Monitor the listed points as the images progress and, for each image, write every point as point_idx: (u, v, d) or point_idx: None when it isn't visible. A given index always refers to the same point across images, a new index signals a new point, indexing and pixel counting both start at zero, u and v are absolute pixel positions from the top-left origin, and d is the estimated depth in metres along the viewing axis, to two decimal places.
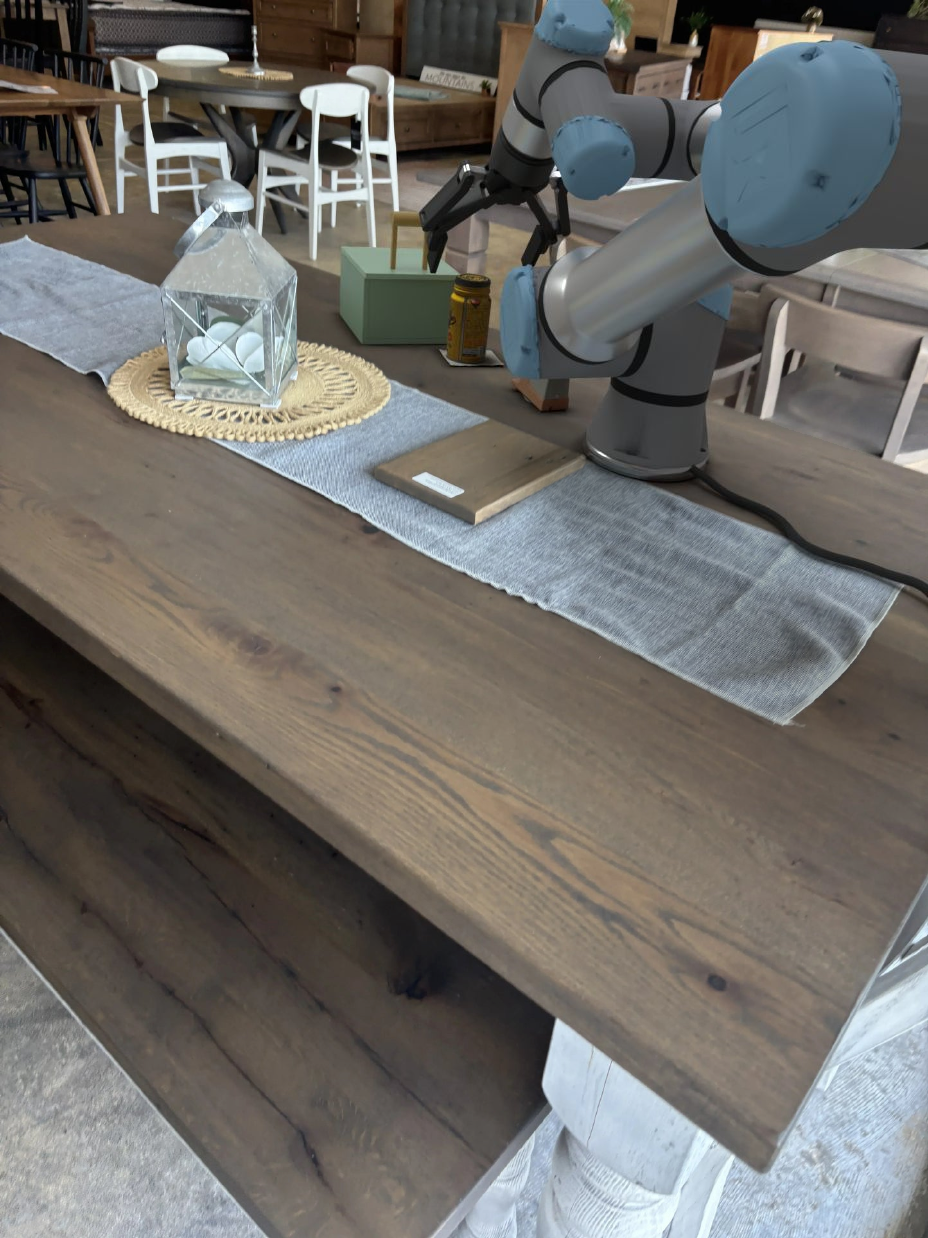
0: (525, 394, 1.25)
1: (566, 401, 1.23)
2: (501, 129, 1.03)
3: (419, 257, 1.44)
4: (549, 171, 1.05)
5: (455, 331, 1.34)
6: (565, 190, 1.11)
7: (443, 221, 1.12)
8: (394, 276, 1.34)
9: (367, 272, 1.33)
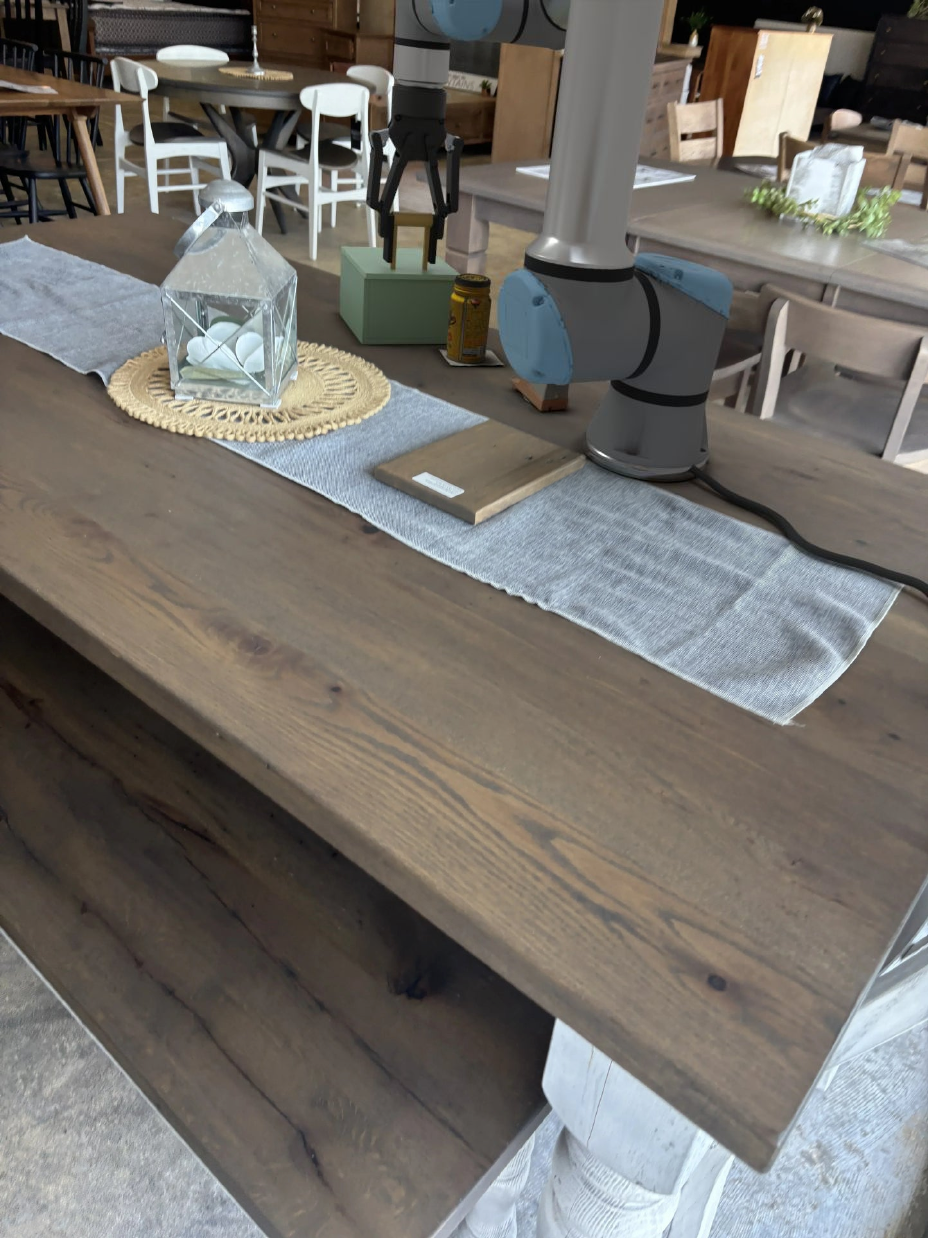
0: (525, 394, 1.25)
1: (566, 401, 1.23)
2: (394, 84, 1.24)
3: (419, 257, 1.44)
4: (440, 103, 1.23)
5: (455, 331, 1.34)
6: (459, 150, 1.29)
7: (383, 199, 1.30)
8: (394, 276, 1.34)
9: (367, 272, 1.33)
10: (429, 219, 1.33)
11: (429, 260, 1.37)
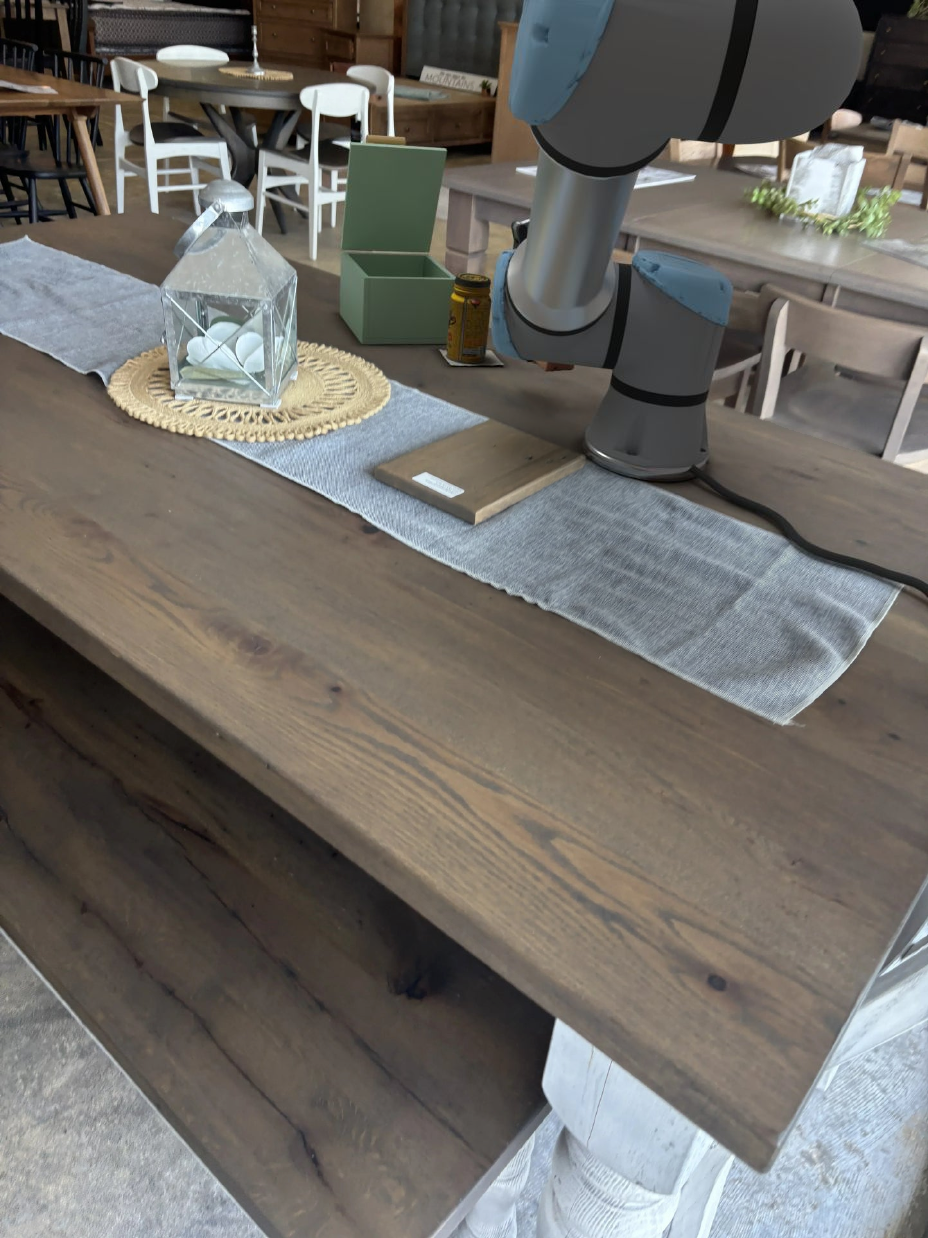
0: None
1: None
2: None
3: None
4: None
5: (455, 331, 1.34)
6: None
7: None
8: (379, 144, 1.34)
9: None
10: (401, 137, 1.42)
11: None
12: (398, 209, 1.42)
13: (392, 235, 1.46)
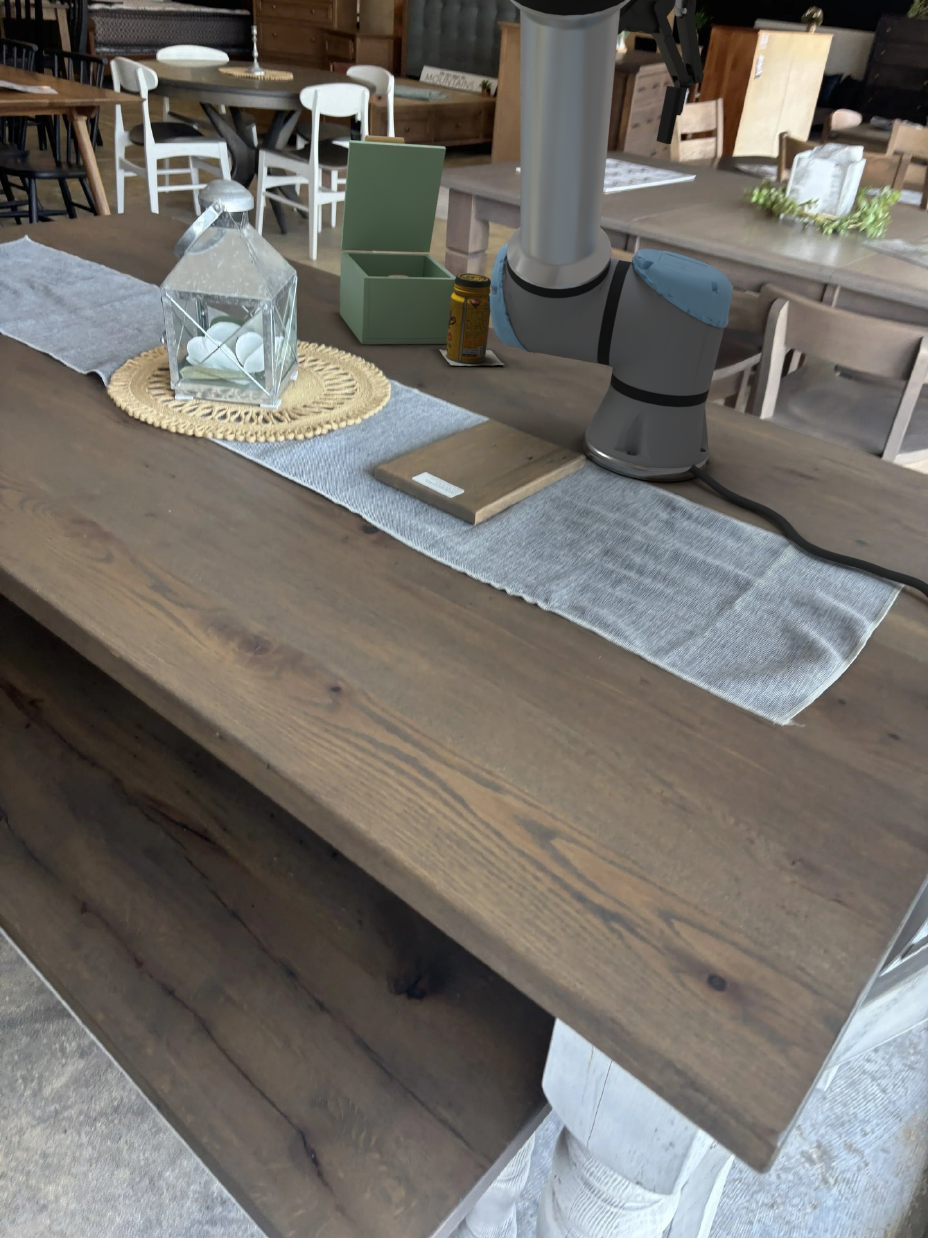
0: None
1: None
2: None
3: None
4: None
5: (455, 331, 1.34)
6: (692, 10, 1.13)
7: None
8: (378, 142, 1.35)
9: None
10: (399, 137, 1.42)
11: (664, 140, 1.22)
12: (397, 208, 1.43)
13: (392, 234, 1.46)
